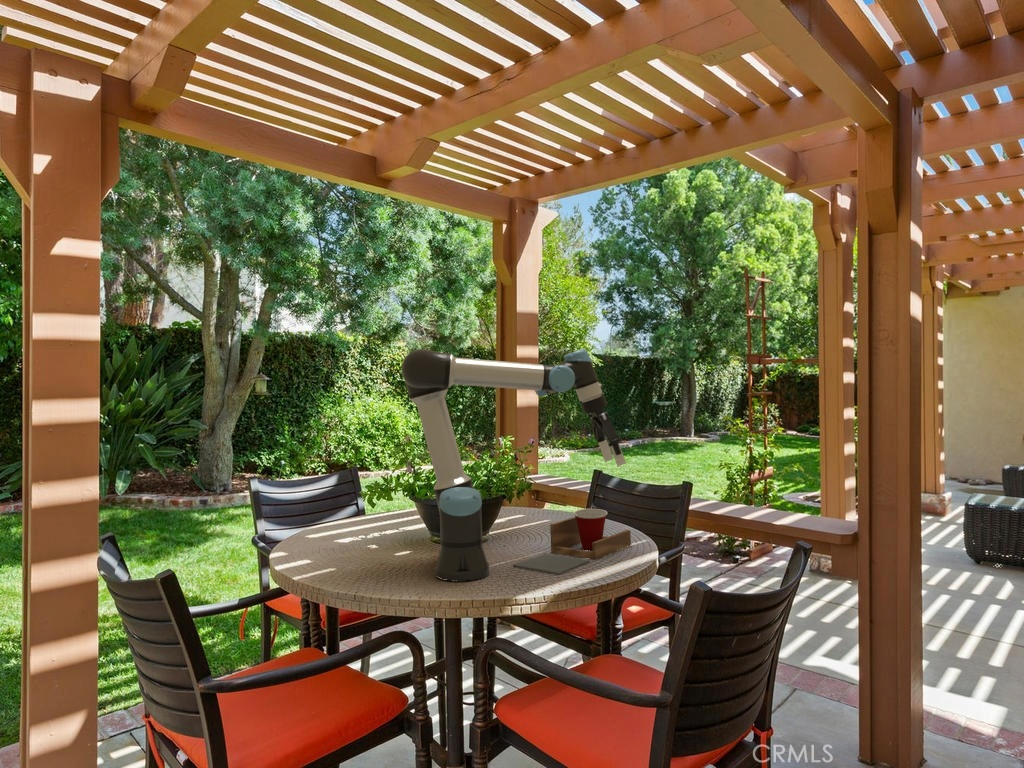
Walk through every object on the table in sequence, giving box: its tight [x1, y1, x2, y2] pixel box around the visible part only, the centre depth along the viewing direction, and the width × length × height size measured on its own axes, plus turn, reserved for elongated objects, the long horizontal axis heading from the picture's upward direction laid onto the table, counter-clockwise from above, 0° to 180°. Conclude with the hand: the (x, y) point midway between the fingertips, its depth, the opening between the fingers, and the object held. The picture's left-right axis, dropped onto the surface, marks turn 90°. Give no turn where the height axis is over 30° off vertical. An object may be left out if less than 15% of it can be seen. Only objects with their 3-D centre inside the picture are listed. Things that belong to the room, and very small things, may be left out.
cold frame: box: [549, 516, 632, 560], centre depth 208 cm, size 16×21×9 cm
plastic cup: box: [573, 508, 608, 552], centre depth 208 cm, size 11×11×12 cm
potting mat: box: [512, 553, 591, 576], centre depth 190 cm, size 16×16×1 cm
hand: (615, 462), depth 202 cm, fingers open, 13 cm apart
